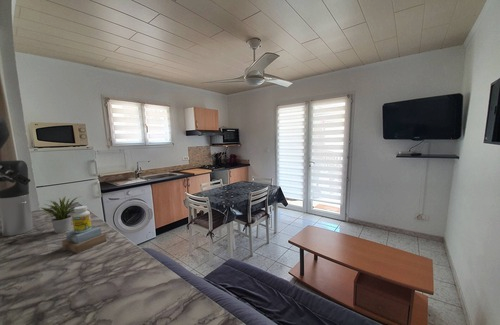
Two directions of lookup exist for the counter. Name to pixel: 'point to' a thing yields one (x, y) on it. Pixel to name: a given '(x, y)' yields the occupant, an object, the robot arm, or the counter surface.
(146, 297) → the counter surface
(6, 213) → the robot arm
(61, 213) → the house plant
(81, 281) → the counter surface
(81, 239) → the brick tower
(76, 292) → the counter surface
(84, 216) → the supplement bottle
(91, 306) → the counter surface
